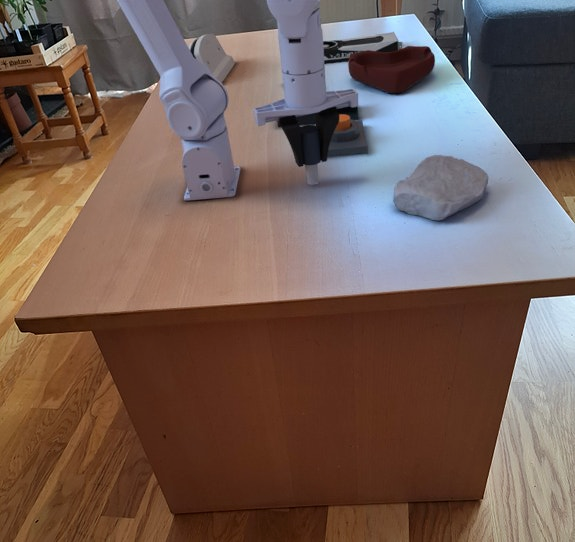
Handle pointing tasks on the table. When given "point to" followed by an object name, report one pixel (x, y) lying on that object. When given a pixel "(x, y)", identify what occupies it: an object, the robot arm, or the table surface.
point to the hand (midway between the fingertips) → (311, 161)
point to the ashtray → (392, 67)
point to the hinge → (212, 55)
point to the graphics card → (359, 46)
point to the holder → (345, 110)
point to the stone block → (440, 187)
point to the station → (349, 141)
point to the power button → (343, 122)
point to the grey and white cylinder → (311, 152)
